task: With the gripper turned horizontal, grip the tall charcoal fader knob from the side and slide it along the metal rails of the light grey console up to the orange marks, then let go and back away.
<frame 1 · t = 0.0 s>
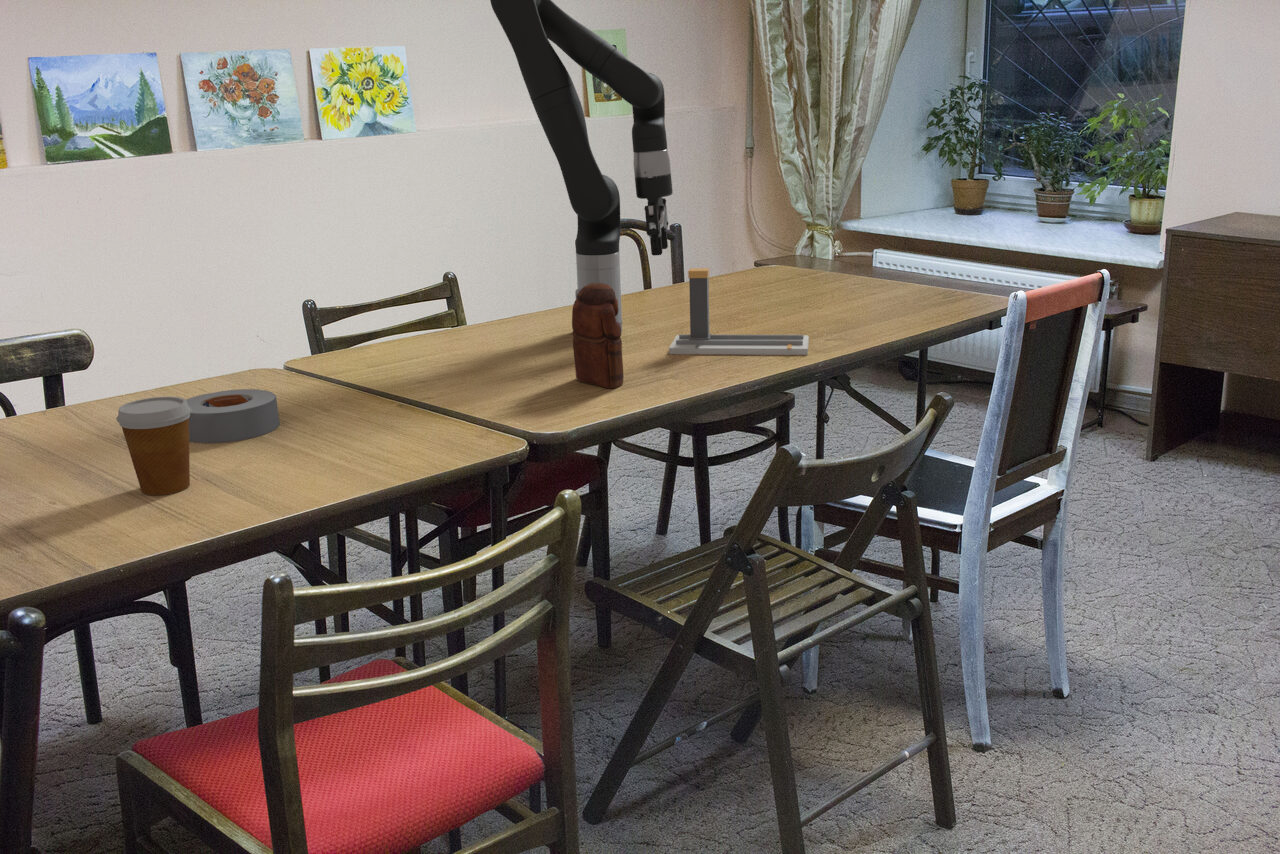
hand: (660, 251, 244), 17 cm above the table, tool pointing down, fingers open, 8 cm apart
console: (739, 347, 233), on the table
disposable coffee cup: (166, 489, 162), on the table
tape roll: (231, 431, 189), on the table
wooden figurine: (601, 383, 210), on the table
fader: (699, 305, 232), point 9 cm above the table, slide at 0.0 cm
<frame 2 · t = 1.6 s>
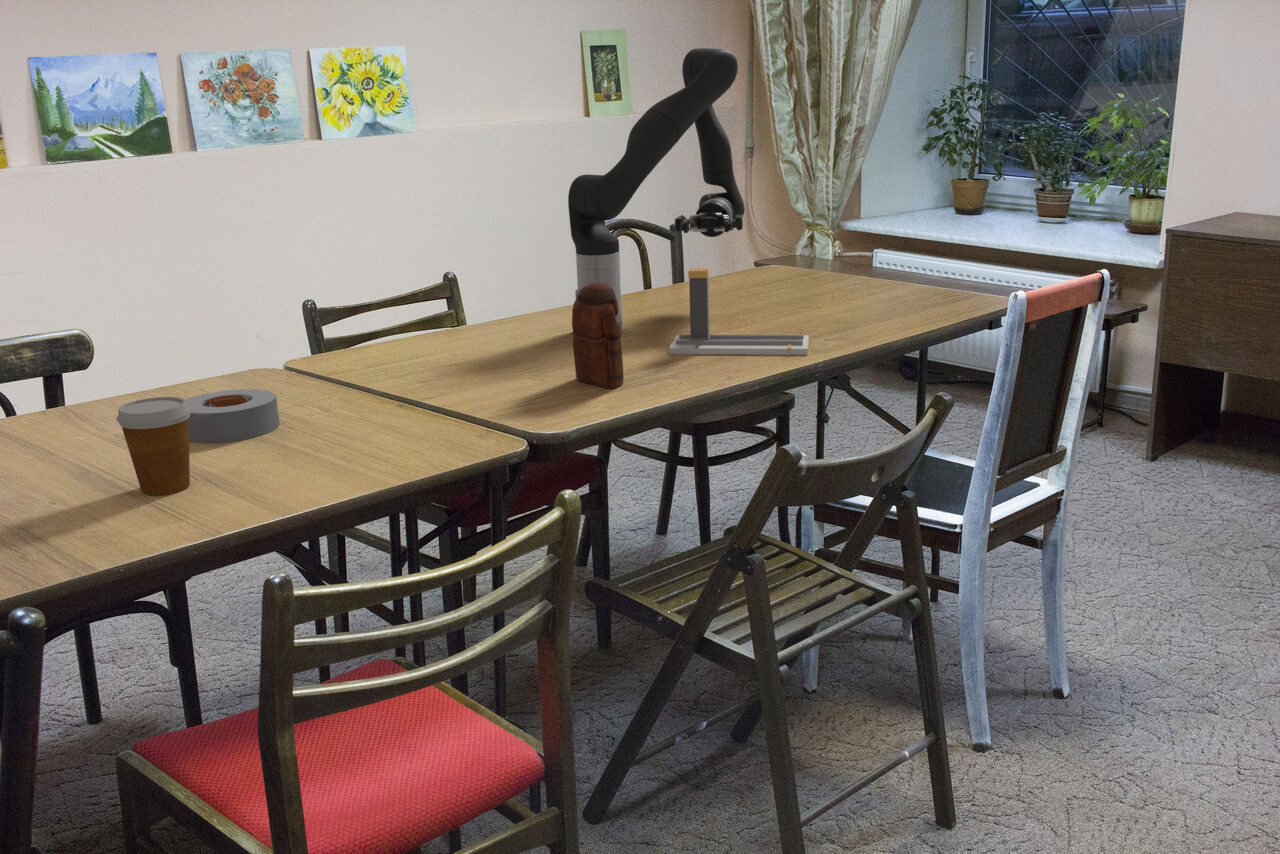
hand: (705, 227, 241), 22 cm above the table, tool horizontal, fingers open, 8 cm apart
nothing on the table moved.
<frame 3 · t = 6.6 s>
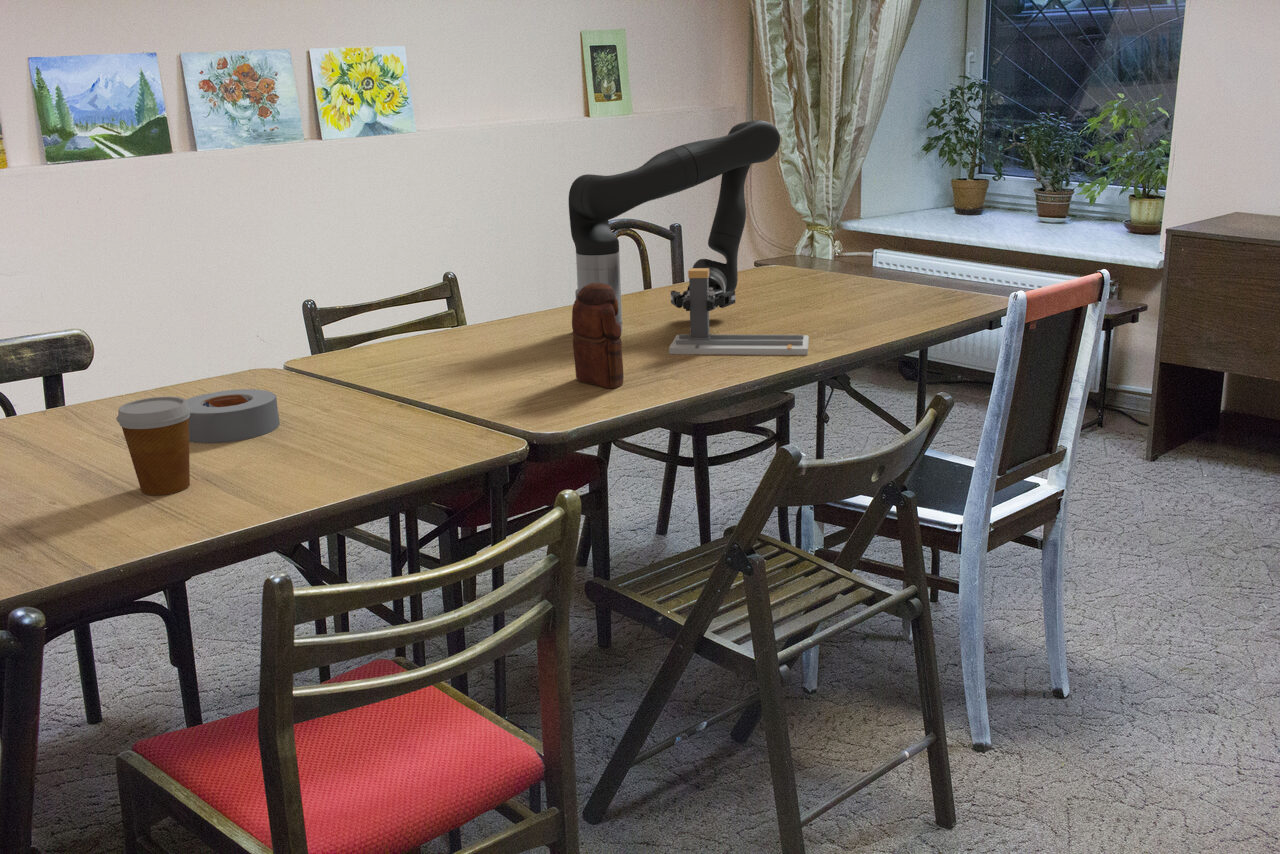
hand: (698, 305, 229), 9 cm above the table, tool horizontal, fingers closed on fader, 3 cm apart
fader: (699, 305, 232), point 9 cm above the table, slide at 0.0 cm, touching gripper
everything else where it was.
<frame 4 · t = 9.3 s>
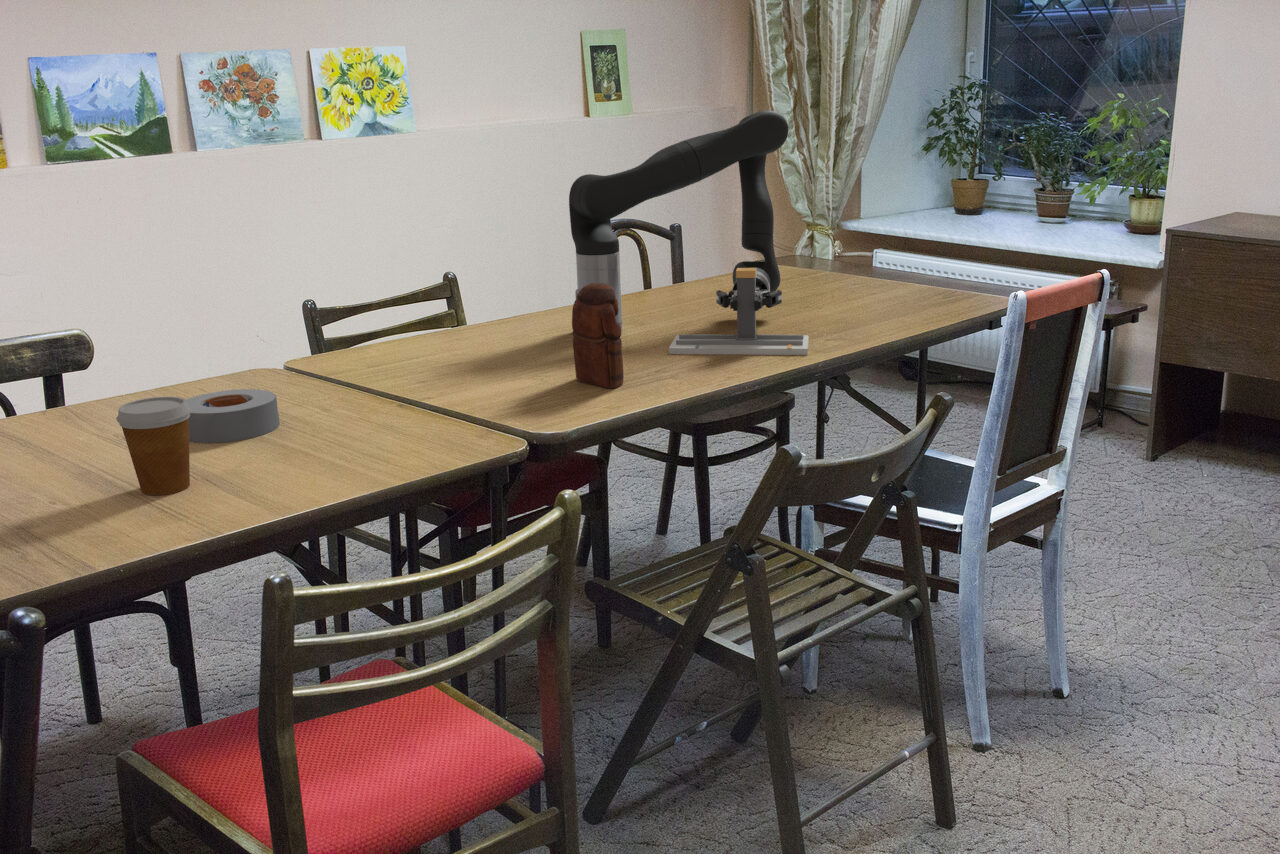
hand: (745, 305, 228), 9 cm above the table, tool horizontal, fingers closed on fader, 3 cm apart
fader: (746, 305, 230), point 9 cm above the table, slide at 9.4 cm, touching gripper
everything else where it was.
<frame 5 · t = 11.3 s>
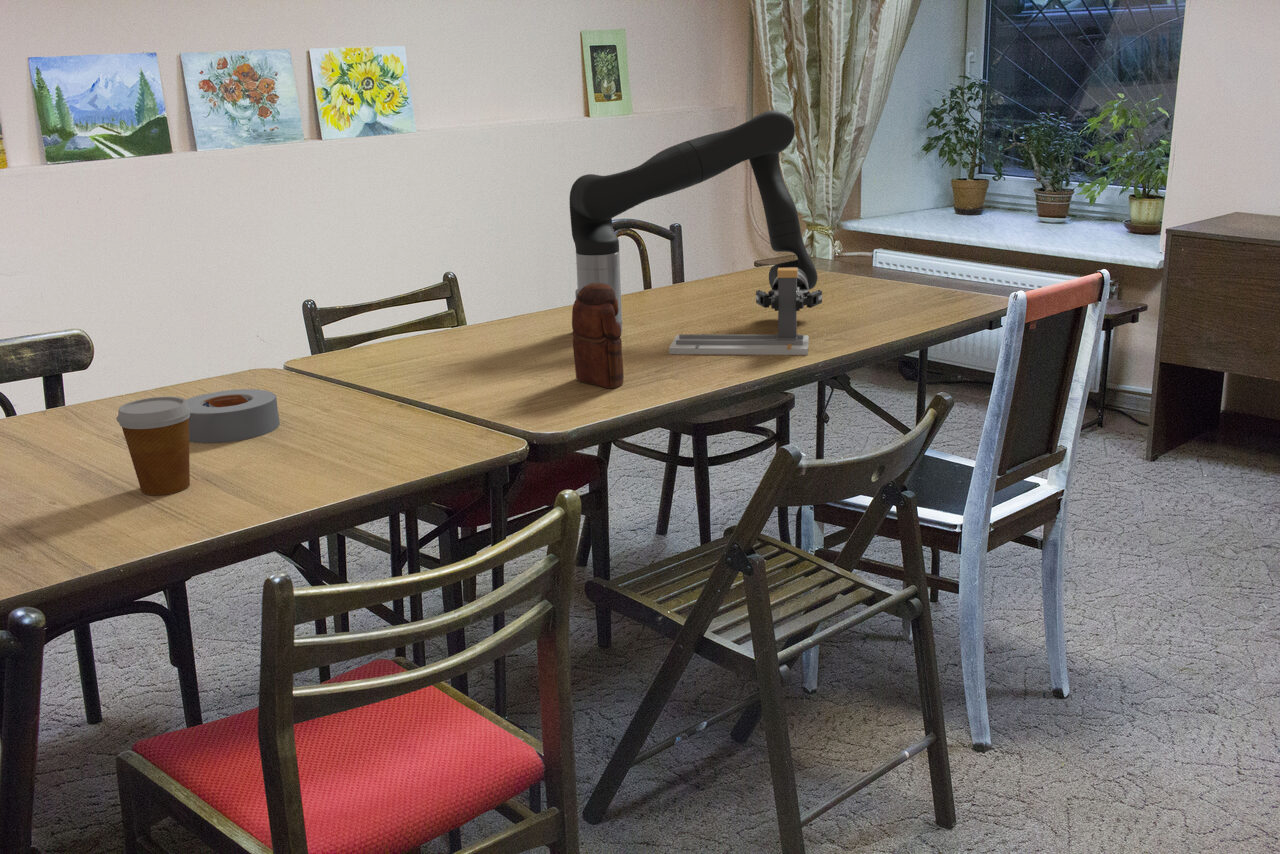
hand: (787, 305, 226), 9 cm above the table, tool horizontal, fingers closed on fader, 3 cm apart
fader: (787, 305, 229), point 9 cm above the table, slide at 17.4 cm, touching gripper
everything else where it was.
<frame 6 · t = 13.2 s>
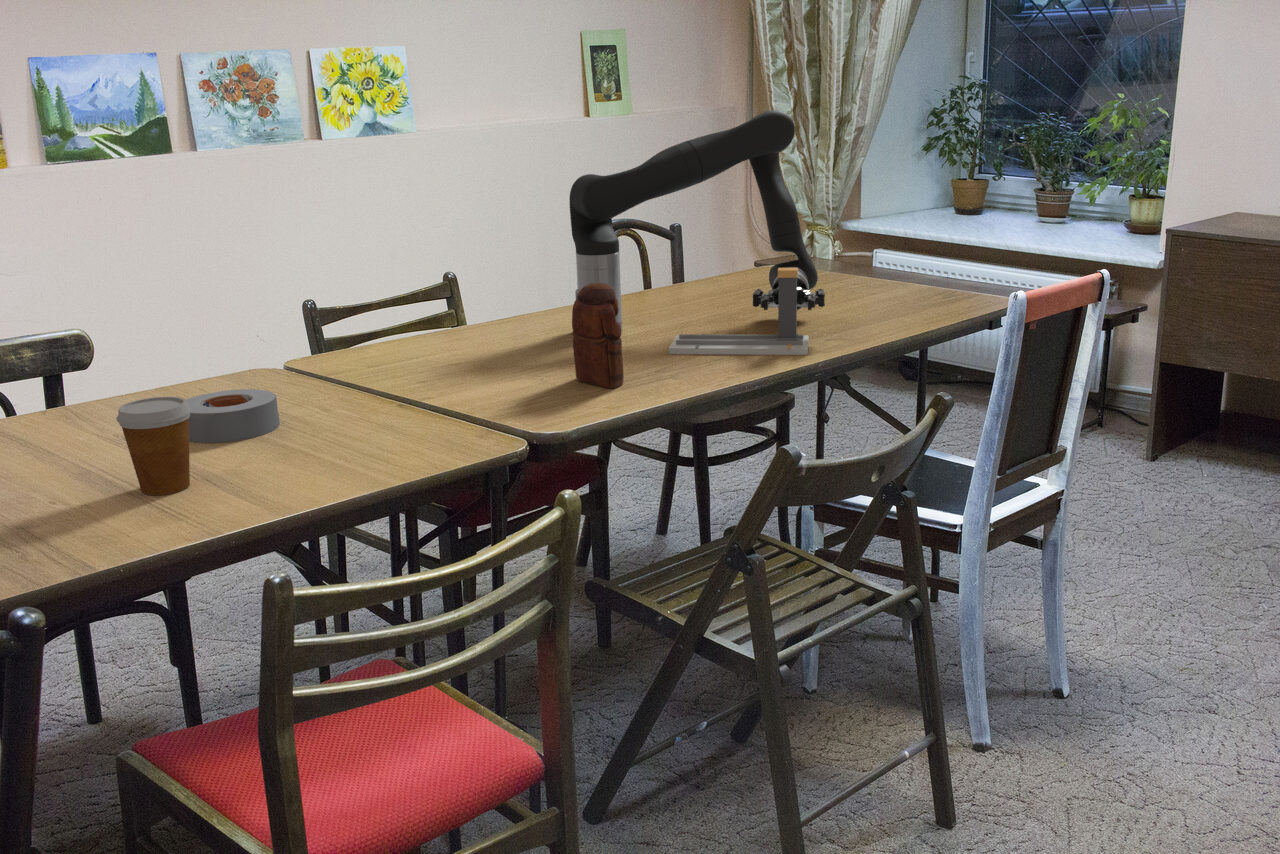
hand: (787, 304, 227), 9 cm above the table, tool horizontal, fingers open, 8 cm apart
fader: (787, 305, 229), point 9 cm above the table, slide at 17.4 cm
everything else where it was.
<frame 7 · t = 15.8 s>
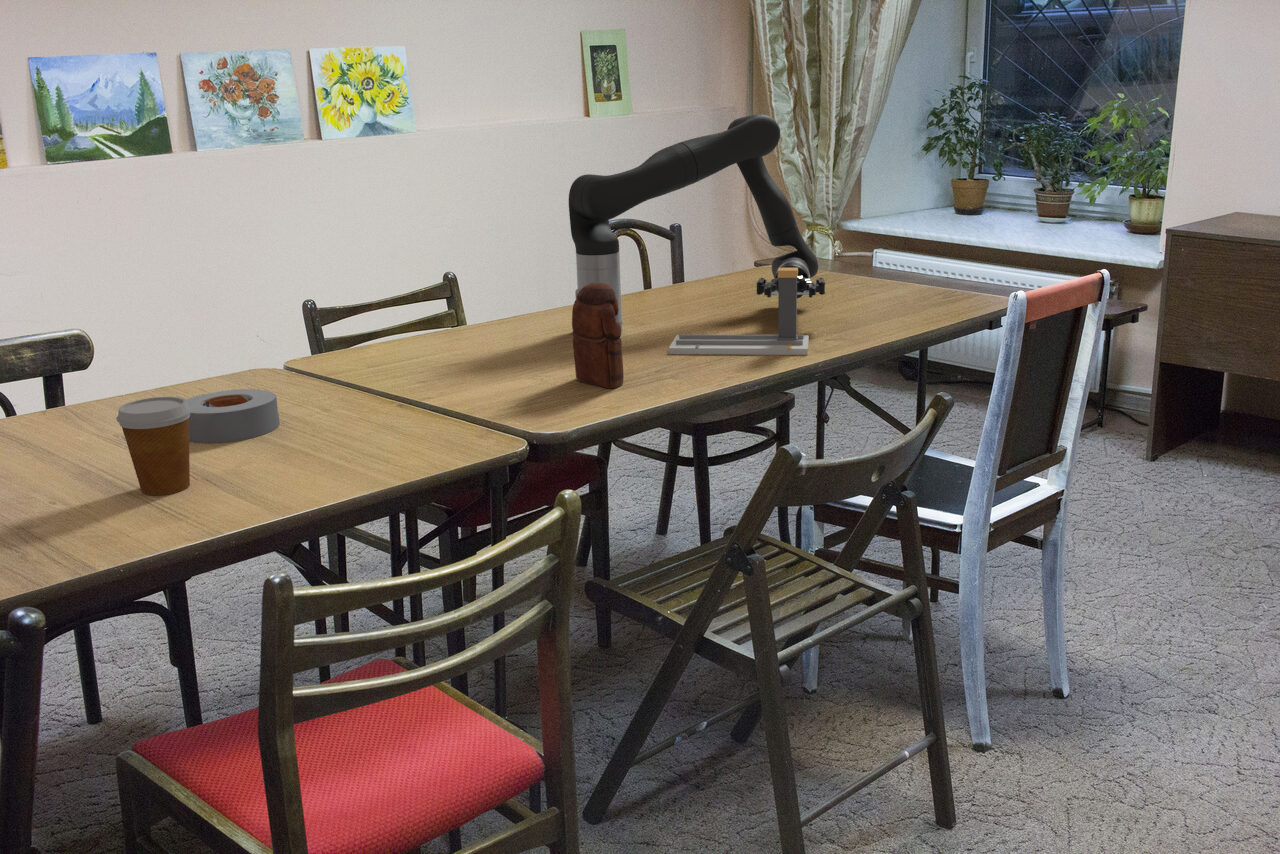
hand: (789, 292, 240), 9 cm above the table, tool horizontal, fingers open, 8 cm apart
nothing on the table moved.
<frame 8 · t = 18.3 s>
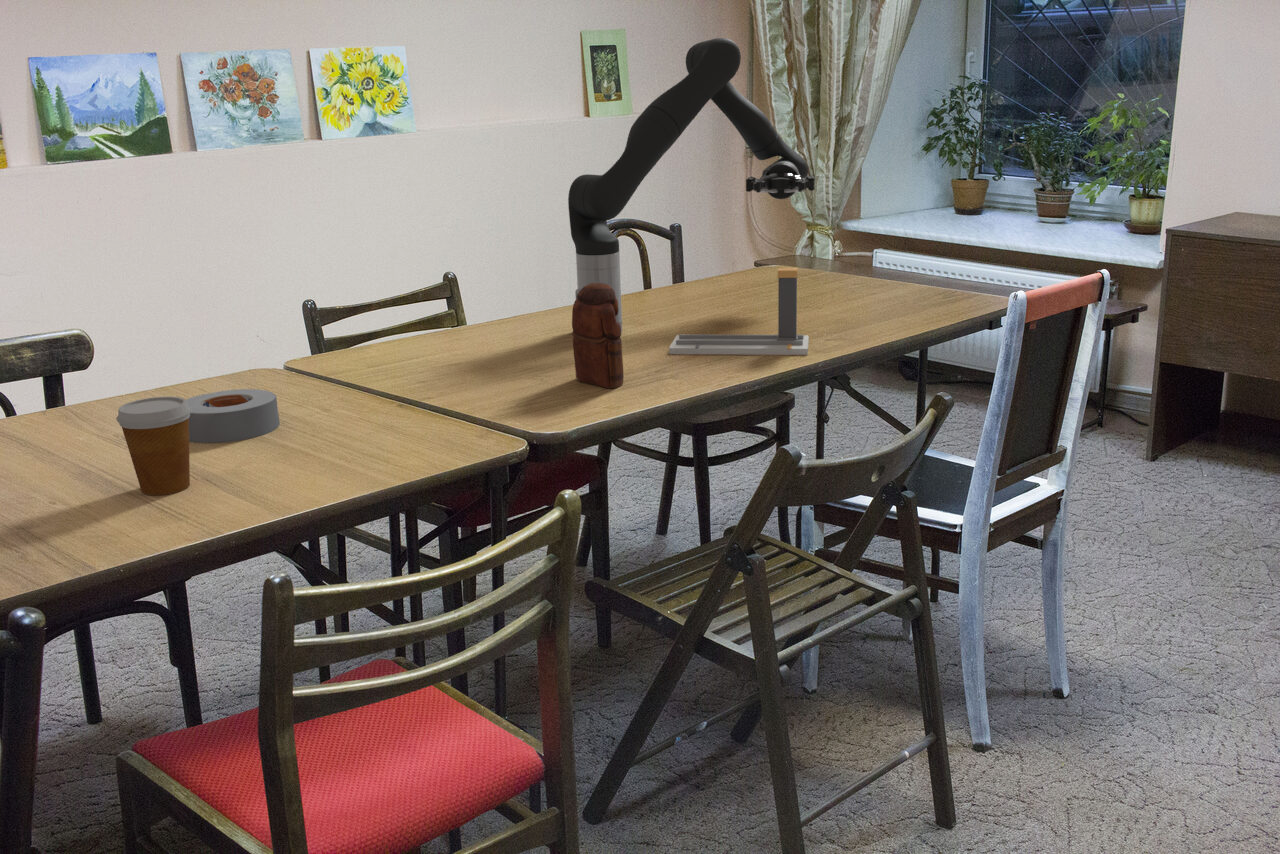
hand: (779, 186, 239), 30 cm above the table, tool horizontal, fingers open, 8 cm apart
nothing on the table moved.
at the end: fader slide at 17.4 cm; the gripper is holding nothing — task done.
